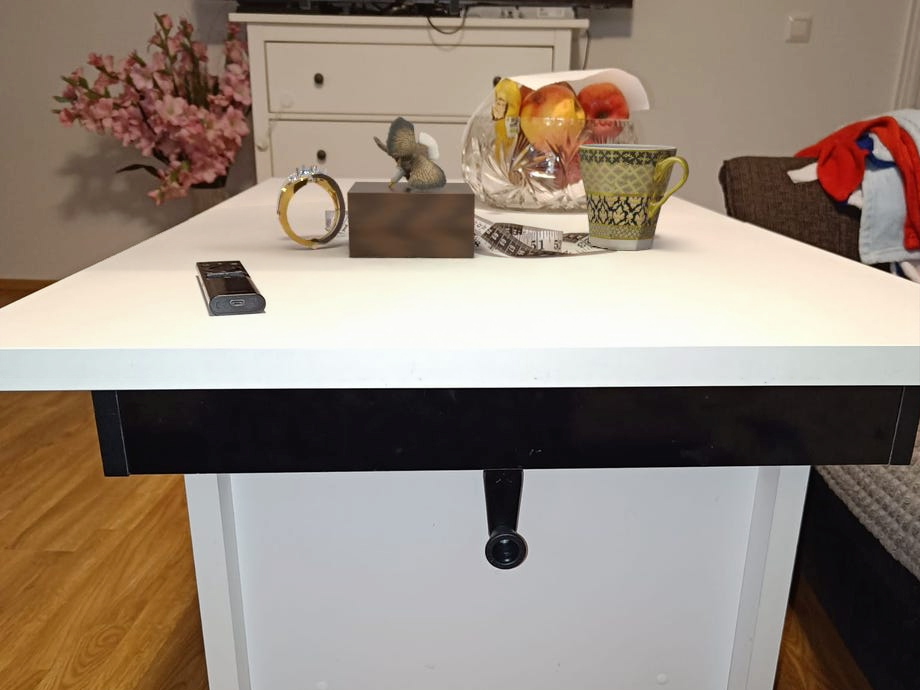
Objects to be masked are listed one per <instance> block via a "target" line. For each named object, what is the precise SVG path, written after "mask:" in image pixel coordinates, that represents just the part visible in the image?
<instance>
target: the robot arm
mask: <svg viewBox="0 0 920 690" xmlns="http://www.w3.org/2000/svg"><path fill="white" fill-rule="evenodd" d="M311 5H312V4H311V0H298V6H299V8H301V10H311V9H312V6H311ZM459 13H460V0H449V15H451V16H458V15H459Z"/></svg>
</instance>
